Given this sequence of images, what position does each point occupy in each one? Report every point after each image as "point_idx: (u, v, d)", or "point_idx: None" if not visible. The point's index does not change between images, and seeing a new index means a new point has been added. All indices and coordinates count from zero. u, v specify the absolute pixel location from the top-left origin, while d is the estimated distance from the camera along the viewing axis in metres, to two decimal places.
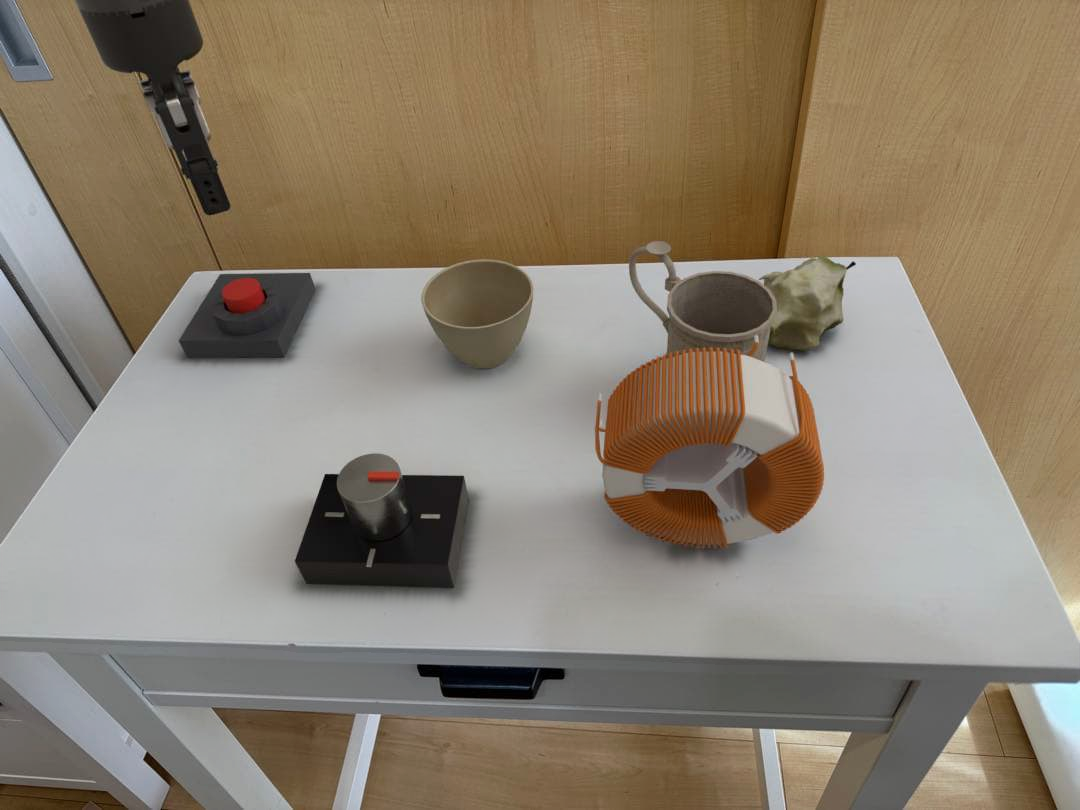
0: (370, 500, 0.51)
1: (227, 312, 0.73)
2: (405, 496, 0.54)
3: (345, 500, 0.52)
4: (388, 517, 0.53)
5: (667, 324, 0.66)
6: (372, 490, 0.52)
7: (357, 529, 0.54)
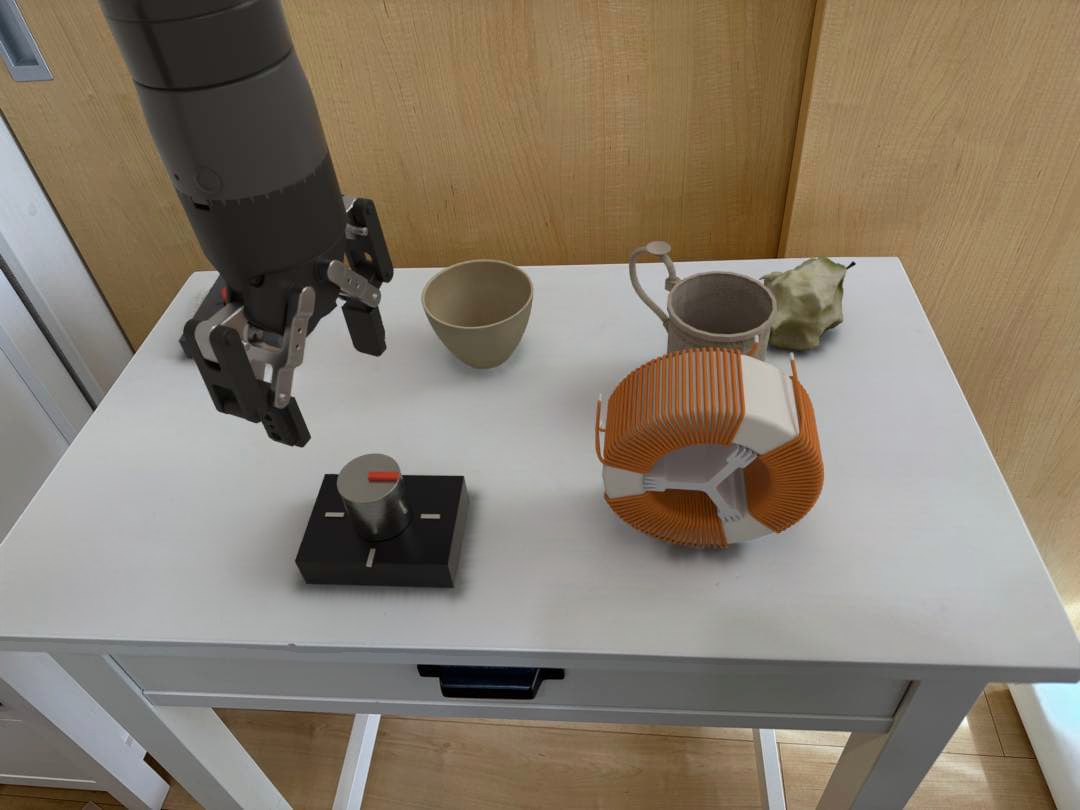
0: (370, 500, 0.51)
1: None
2: (405, 496, 0.54)
3: (345, 500, 0.52)
4: (388, 517, 0.53)
5: (667, 324, 0.66)
6: (372, 490, 0.52)
7: (357, 529, 0.54)
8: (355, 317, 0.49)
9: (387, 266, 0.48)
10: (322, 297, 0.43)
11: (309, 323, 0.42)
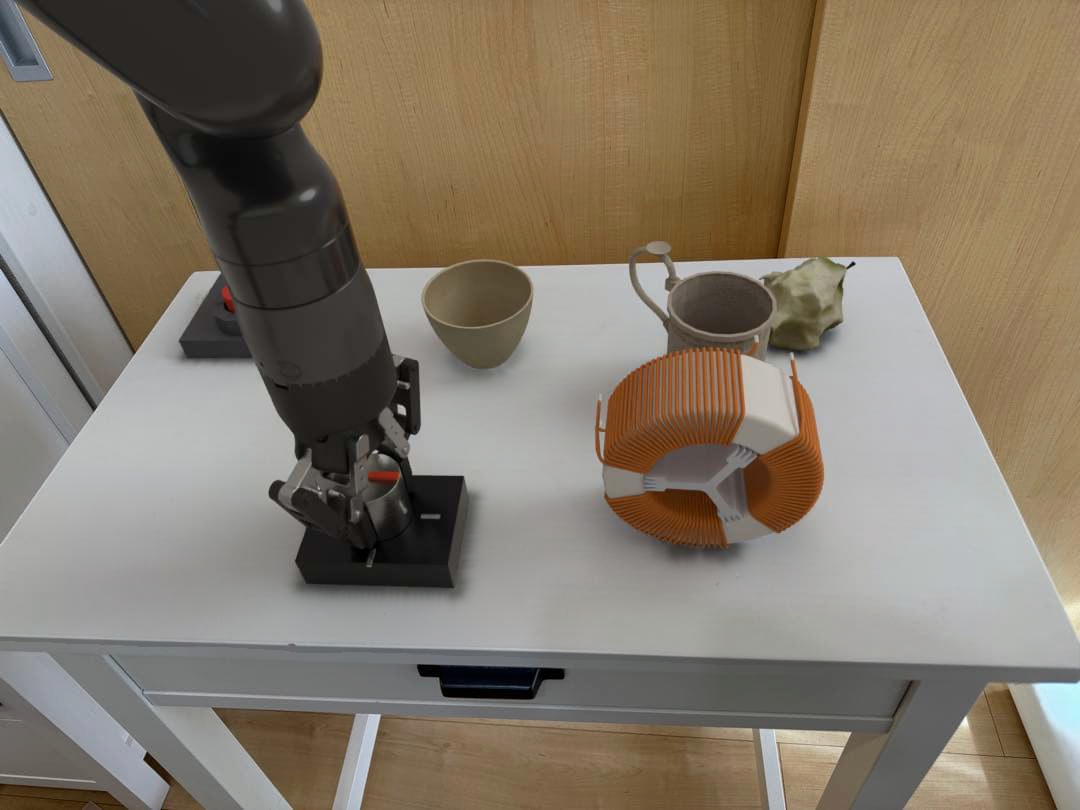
0: (370, 500, 0.51)
1: (227, 312, 0.73)
2: (405, 496, 0.54)
3: None
4: (388, 517, 0.53)
5: (667, 324, 0.66)
6: (372, 490, 0.52)
7: None
8: None
9: (417, 420, 0.55)
10: (373, 436, 0.50)
11: None
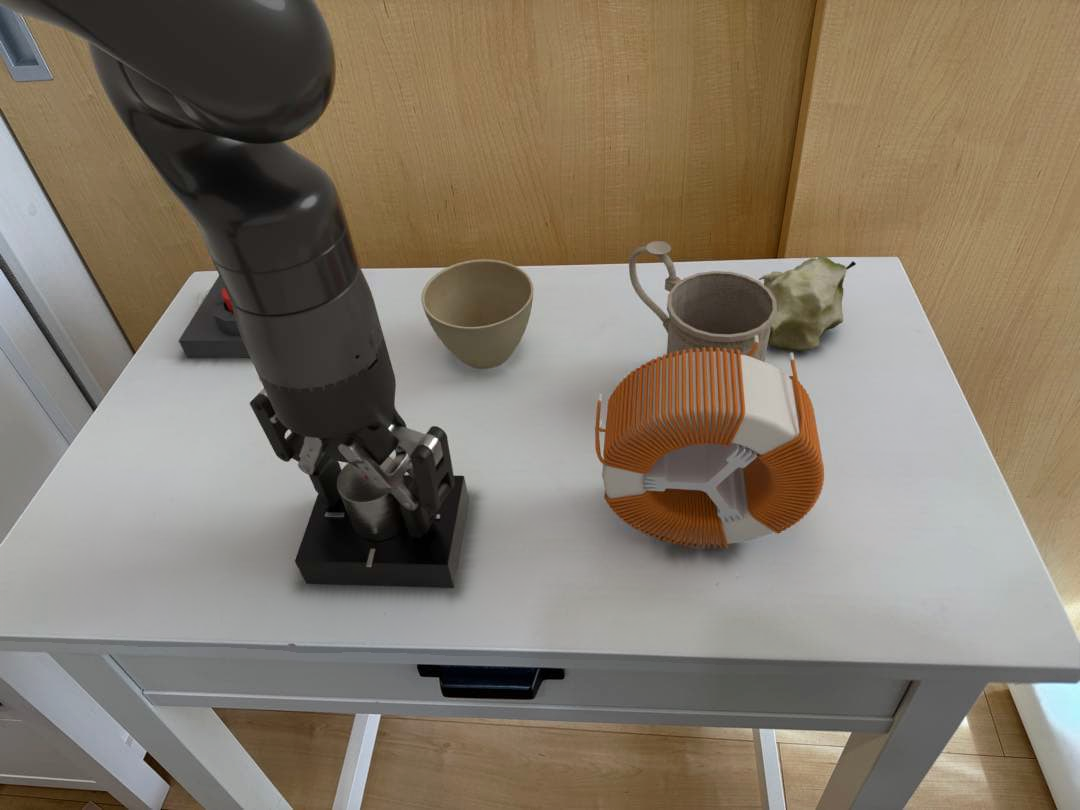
0: None
1: (227, 312, 0.73)
2: None
3: (391, 494, 0.52)
4: None
5: (667, 324, 0.66)
6: None
7: (401, 522, 0.54)
8: (327, 473, 0.55)
9: None
10: None
11: None
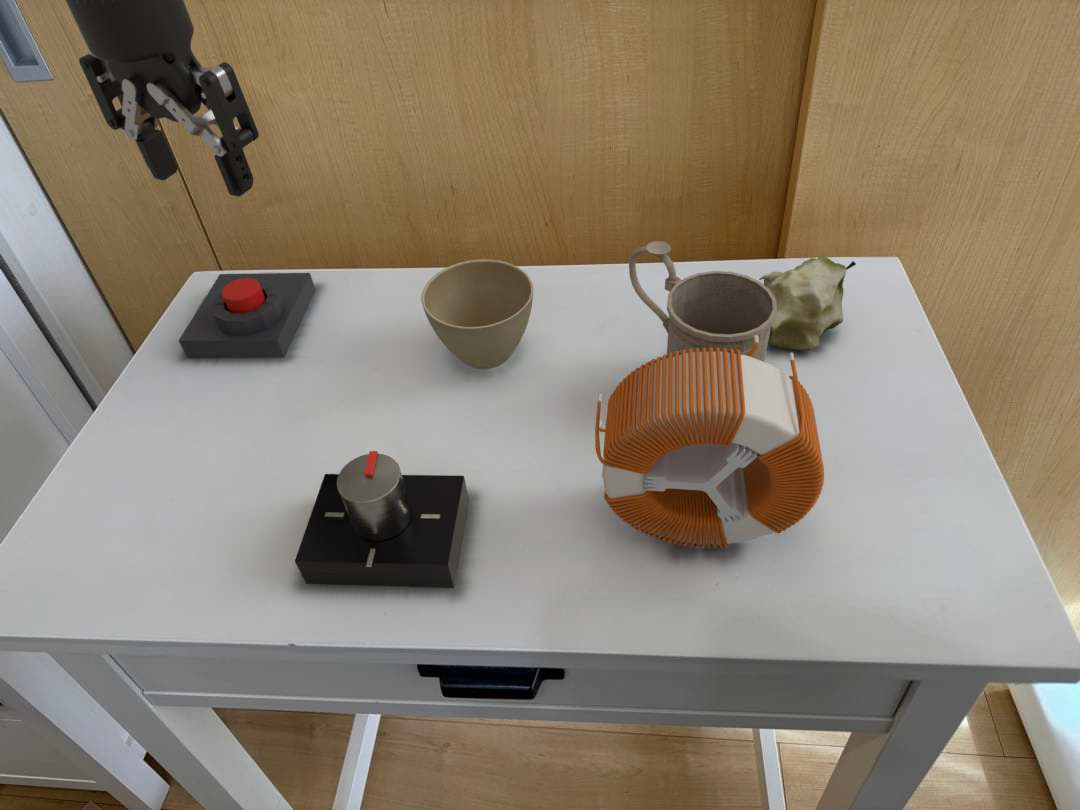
0: (398, 469, 0.53)
1: (227, 312, 0.73)
2: None
3: (391, 494, 0.52)
4: None
5: (667, 324, 0.66)
6: (386, 470, 0.53)
7: (401, 522, 0.54)
8: (153, 143, 0.64)
9: None
10: None
11: None
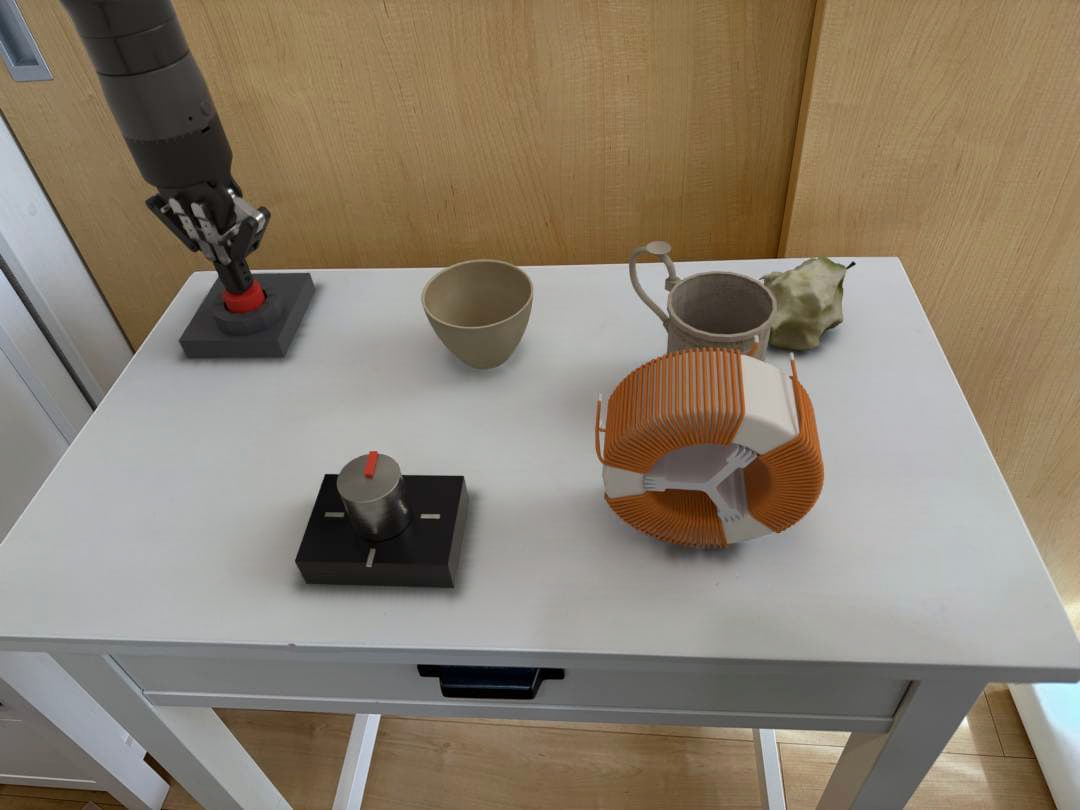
0: (398, 469, 0.53)
1: (227, 312, 0.73)
2: None
3: (391, 494, 0.52)
4: None
5: (667, 324, 0.66)
6: (386, 470, 0.53)
7: (401, 522, 0.54)
8: None
9: None
10: None
11: None
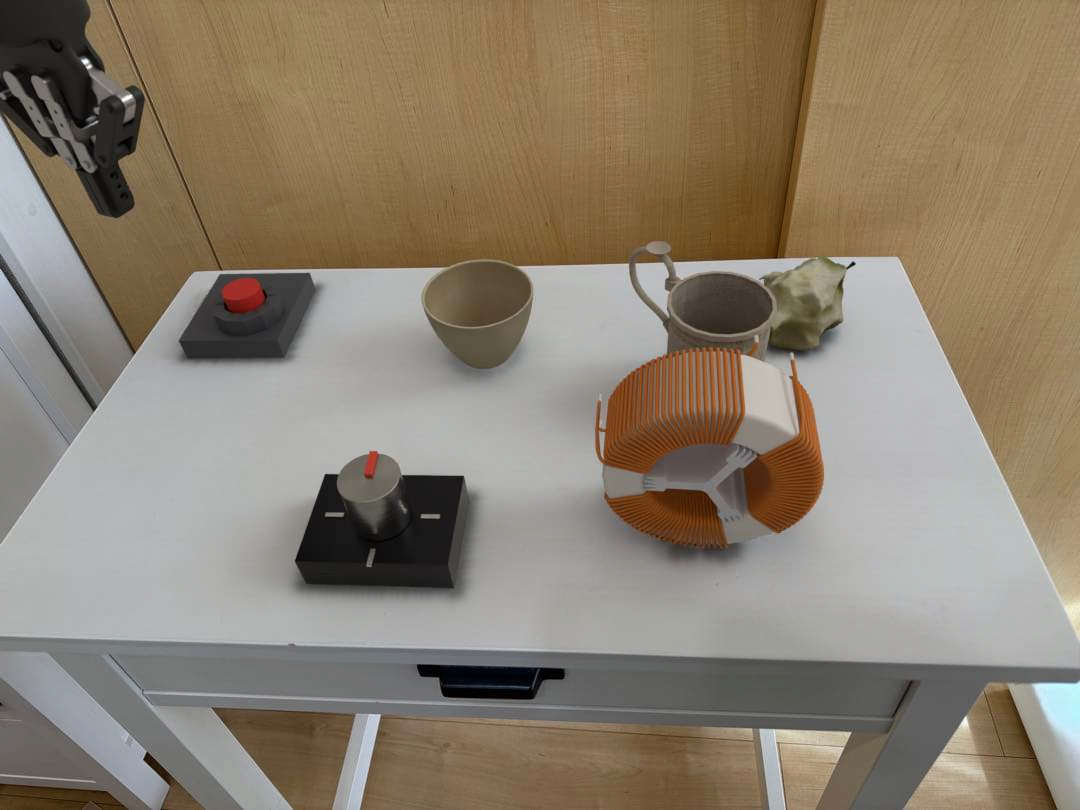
0: (398, 469, 0.53)
1: (227, 312, 0.73)
2: None
3: (391, 494, 0.52)
4: None
5: (667, 324, 0.66)
6: (386, 470, 0.53)
7: (401, 522, 0.54)
8: None
9: None
10: None
11: None
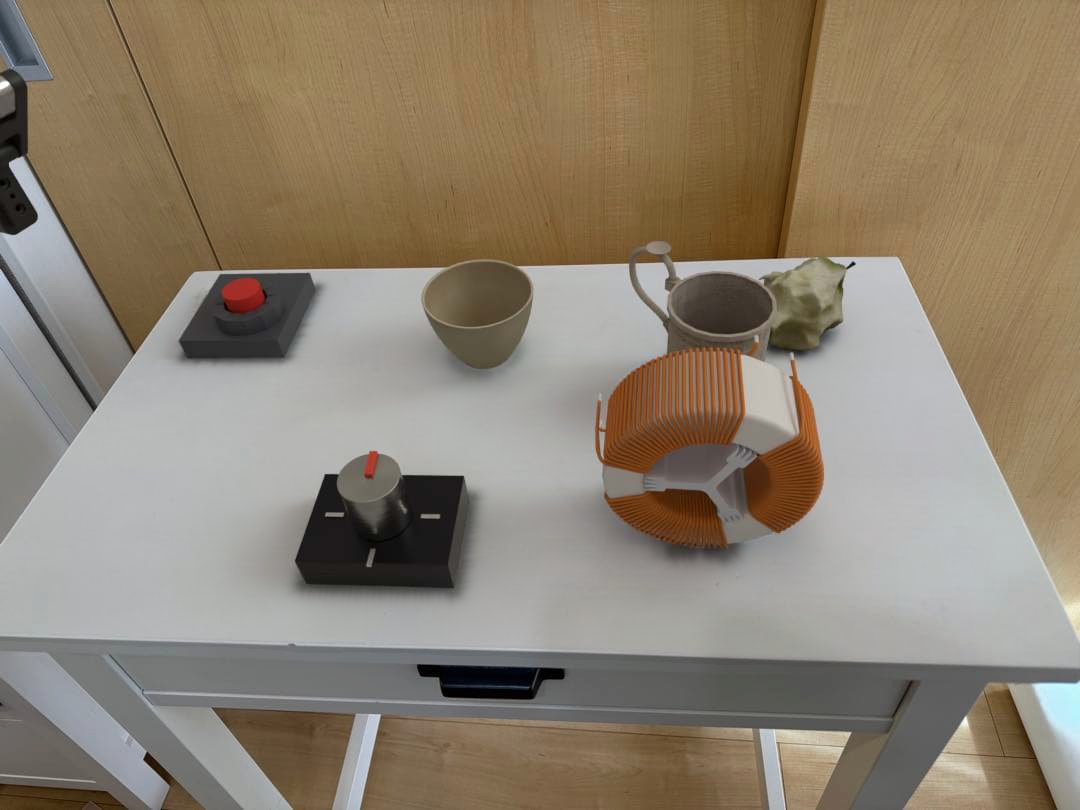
0: (398, 469, 0.53)
1: (227, 312, 0.73)
2: None
3: (391, 494, 0.52)
4: None
5: (667, 324, 0.66)
6: (386, 470, 0.53)
7: (401, 522, 0.54)
8: None
9: None
10: None
11: None
